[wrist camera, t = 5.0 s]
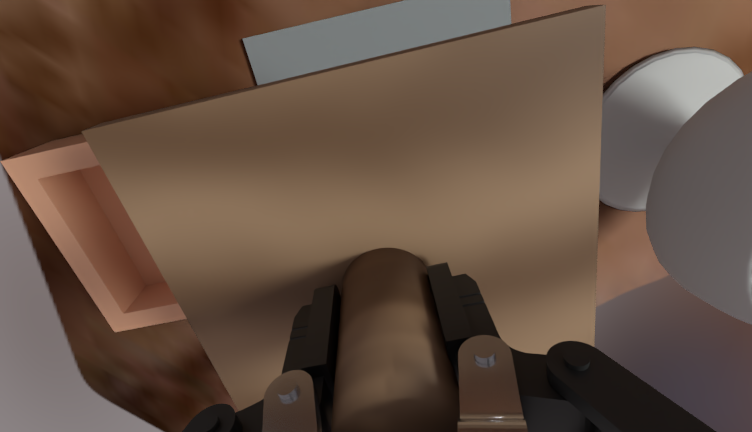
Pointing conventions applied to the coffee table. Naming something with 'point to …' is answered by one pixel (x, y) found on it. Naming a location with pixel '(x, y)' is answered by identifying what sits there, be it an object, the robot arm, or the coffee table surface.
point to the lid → (379, 209)
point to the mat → (369, 35)
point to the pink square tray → (94, 232)
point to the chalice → (686, 168)
